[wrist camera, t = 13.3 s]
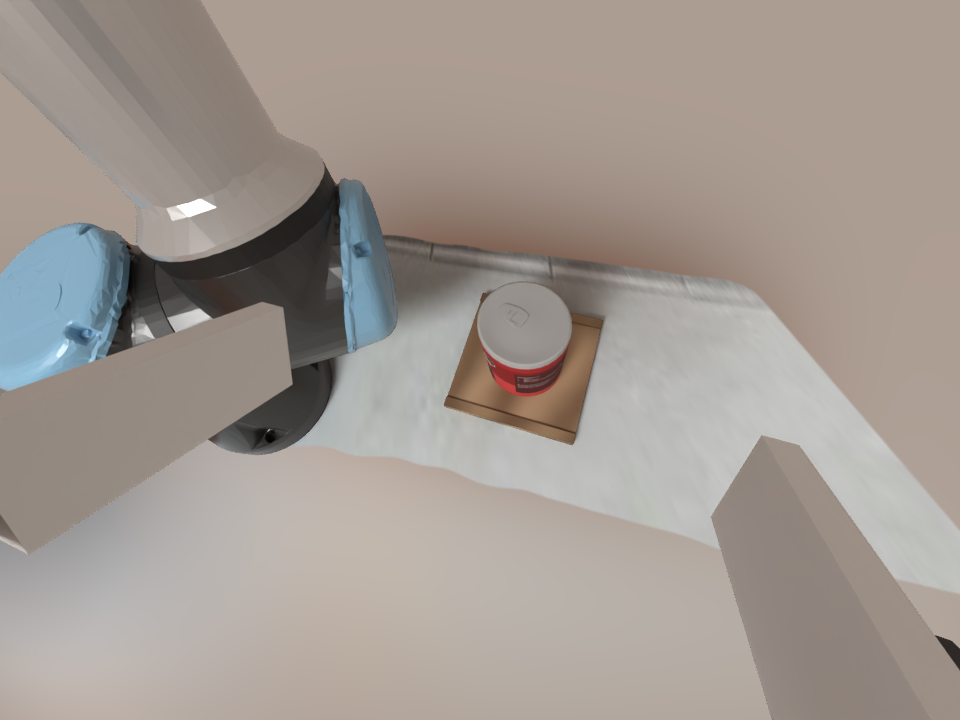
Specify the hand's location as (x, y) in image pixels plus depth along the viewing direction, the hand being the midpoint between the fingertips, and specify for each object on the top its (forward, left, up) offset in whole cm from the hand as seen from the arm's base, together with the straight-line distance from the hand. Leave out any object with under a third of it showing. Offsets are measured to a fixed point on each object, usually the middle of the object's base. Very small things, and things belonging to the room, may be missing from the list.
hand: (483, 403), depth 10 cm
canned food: (-2, +11, -29) cm, 31 cm away
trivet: (-2, +11, -30) cm, 32 cm away
